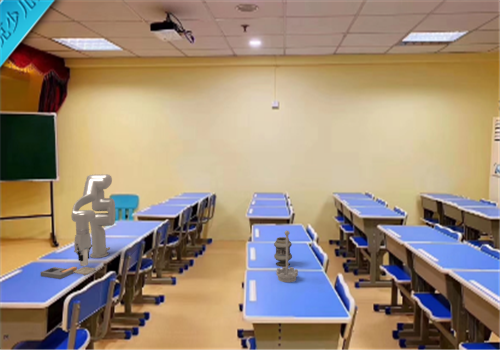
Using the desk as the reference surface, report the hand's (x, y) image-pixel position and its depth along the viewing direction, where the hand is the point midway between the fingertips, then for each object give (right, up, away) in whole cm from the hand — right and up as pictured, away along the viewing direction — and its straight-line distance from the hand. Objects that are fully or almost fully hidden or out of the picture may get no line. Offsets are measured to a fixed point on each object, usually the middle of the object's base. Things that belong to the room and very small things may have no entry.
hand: (83, 259), depth 240 cm
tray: (0, -8, +1) cm, 9 cm away
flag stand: (+130, -9, -14) cm, 131 cm away
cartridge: (0, -4, 0) cm, 4 cm away
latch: (-9, -9, -1) cm, 12 cm away
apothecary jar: (+129, -7, +13) cm, 130 cm away
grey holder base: (-15, -9, -5) cm, 18 cm away
